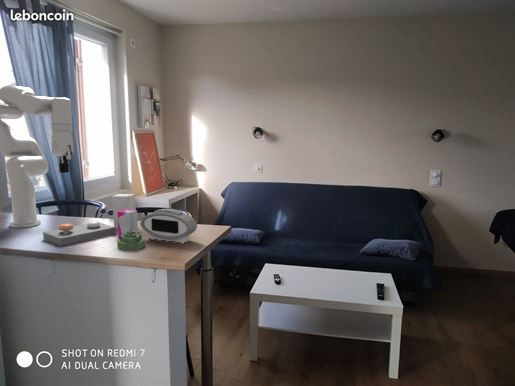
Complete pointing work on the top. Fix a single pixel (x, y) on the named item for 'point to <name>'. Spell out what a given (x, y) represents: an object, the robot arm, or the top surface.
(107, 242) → the top surface
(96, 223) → the grey button
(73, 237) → the button panel
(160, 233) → the alarm clock
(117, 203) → the skincare box
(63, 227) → the terracotta button
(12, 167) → the robot arm
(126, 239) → the decorative artifact
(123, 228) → the supplement box
